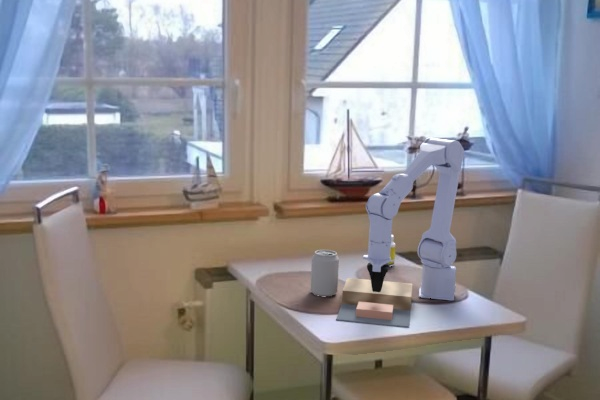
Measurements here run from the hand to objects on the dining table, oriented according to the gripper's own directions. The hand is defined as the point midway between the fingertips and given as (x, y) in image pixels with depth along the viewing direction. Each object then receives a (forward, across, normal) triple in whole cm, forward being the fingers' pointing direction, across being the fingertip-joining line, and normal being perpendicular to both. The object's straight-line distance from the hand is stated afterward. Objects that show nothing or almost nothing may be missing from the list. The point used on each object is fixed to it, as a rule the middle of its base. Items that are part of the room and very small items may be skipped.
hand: (376, 291), depth 189 cm
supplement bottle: (+5, -44, 0) cm, 44 cm away
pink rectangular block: (+3, +5, 0) cm, 5 cm away
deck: (+5, -7, 0) cm, 9 cm away
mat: (+5, +5, 0) cm, 7 cm away
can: (+5, -9, -15) cm, 18 cm away
